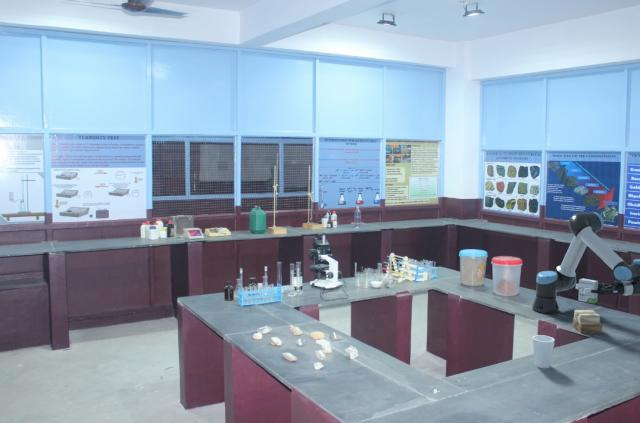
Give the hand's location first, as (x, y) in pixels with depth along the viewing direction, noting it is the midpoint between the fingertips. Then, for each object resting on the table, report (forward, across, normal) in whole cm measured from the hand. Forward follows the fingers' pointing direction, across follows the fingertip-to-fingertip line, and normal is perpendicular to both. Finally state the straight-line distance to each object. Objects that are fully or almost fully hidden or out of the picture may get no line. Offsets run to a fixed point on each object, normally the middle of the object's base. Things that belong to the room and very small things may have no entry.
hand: (580, 288), depth 307 cm
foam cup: (+39, -49, -24) cm, 67 cm away
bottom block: (-5, 0, -24) cm, 24 cm away
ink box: (-4, 0, -7) cm, 8 cm away
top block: (-4, 0, -19) cm, 19 cm away
